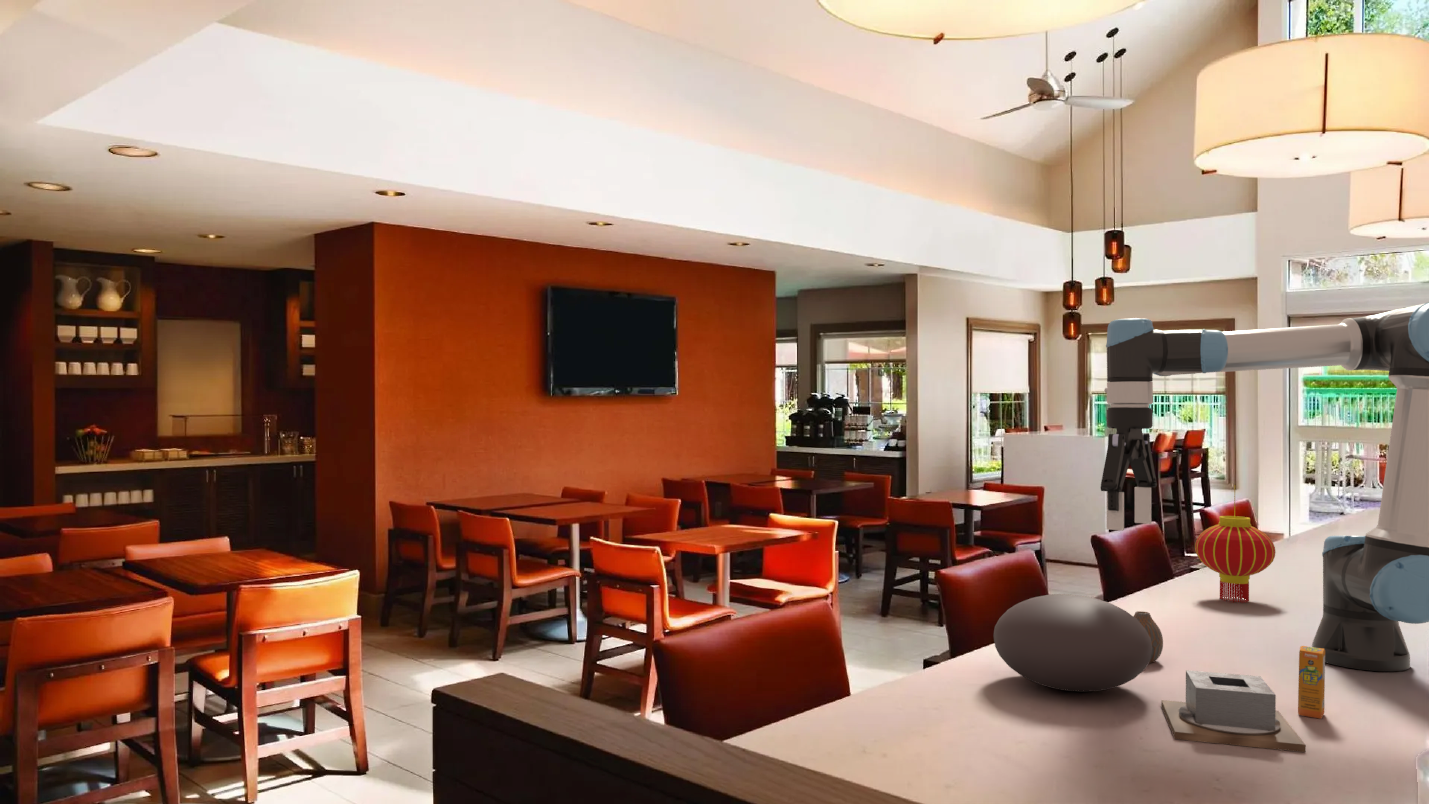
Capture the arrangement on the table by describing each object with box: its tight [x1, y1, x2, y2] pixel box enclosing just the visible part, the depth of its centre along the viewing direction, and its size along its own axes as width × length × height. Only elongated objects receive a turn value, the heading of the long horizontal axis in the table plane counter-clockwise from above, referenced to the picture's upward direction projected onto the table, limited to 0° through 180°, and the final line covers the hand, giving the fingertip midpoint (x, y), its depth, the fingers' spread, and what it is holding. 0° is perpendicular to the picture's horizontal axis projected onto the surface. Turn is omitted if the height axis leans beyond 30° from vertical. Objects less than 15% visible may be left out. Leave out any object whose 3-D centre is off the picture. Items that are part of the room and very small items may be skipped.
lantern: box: [1194, 486, 1277, 603], centre depth 242 cm, size 17×17×30 cm
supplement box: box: [1297, 645, 1326, 720], centre depth 150 cm, size 3×3×10 cm
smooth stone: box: [993, 593, 1152, 693], centre depth 165 cm, size 25×25×15 cm
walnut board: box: [1160, 699, 1307, 753], centre depth 144 cm, size 16×16×1 cm
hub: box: [1179, 669, 1280, 736], centre depth 144 cm, size 13×13×6 cm
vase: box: [1132, 610, 1164, 664], centre depth 183 cm, size 7×7×9 cm
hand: (1129, 526), depth 177 cm, fingers open, 13 cm apart
